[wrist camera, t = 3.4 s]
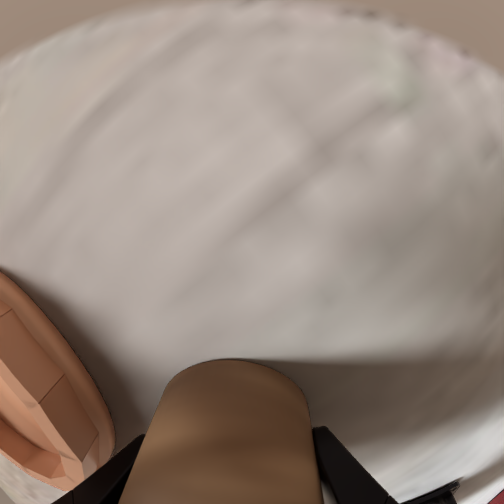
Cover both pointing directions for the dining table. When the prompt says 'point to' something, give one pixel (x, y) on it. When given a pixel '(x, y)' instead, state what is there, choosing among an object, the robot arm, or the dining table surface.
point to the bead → (227, 441)
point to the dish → (47, 398)
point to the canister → (498, 499)
